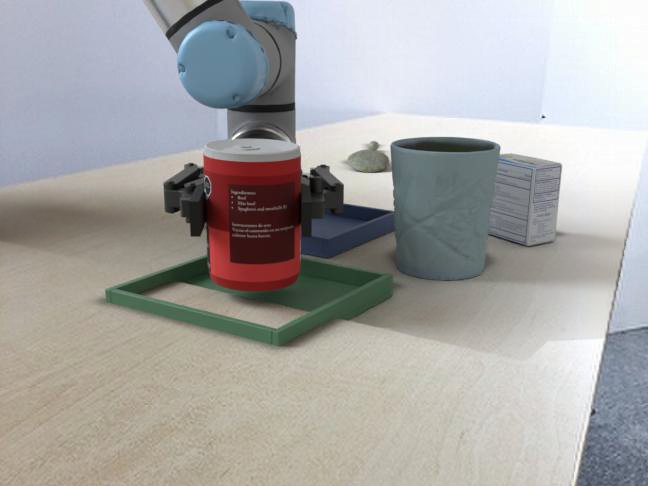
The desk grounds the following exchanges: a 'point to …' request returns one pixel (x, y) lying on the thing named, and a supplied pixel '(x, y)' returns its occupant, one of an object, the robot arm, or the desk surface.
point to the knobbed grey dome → (369, 159)
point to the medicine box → (525, 199)
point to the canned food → (253, 213)
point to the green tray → (265, 297)
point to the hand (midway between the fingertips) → (251, 219)
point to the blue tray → (346, 230)
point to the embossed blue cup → (443, 204)
